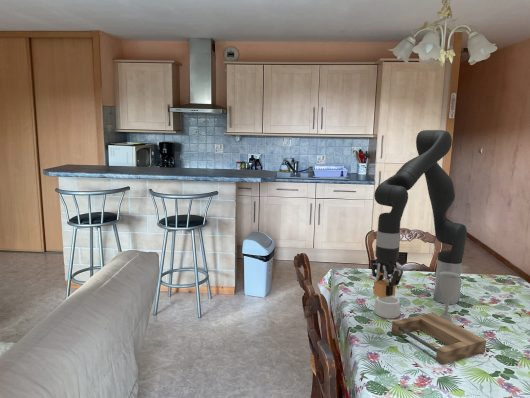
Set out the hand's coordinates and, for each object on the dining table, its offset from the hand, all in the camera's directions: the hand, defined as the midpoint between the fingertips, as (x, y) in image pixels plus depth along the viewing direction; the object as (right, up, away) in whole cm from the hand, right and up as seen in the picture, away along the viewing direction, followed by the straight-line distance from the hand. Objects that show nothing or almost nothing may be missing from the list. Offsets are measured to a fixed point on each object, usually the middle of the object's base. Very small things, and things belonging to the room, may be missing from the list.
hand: (384, 292), depth 141 cm
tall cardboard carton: (0, -1, 0) cm, 1 cm away
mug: (+7, -12, +20) cm, 24 cm away
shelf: (+17, -16, -2) cm, 23 cm away
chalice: (+27, -14, +14) cm, 33 cm away
